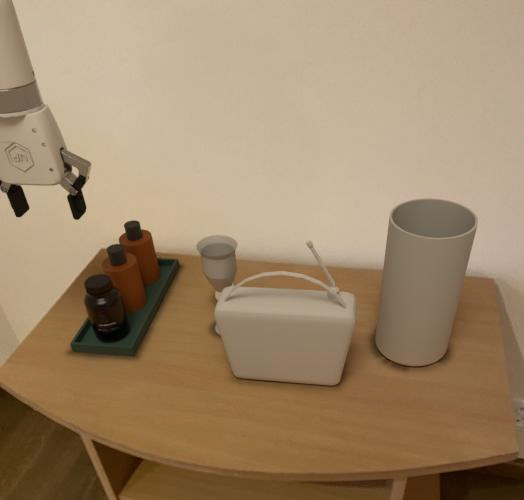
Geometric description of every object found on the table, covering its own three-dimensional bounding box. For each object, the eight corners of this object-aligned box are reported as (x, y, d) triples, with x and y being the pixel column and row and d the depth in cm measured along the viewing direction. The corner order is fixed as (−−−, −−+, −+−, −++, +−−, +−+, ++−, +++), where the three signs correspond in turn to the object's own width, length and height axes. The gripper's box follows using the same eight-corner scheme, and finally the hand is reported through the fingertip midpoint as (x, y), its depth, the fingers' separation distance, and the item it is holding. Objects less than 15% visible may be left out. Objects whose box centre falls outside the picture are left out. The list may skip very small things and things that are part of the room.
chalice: (202, 329, 98) (187, 247, 86) (226, 311, 102) (215, 231, 90) (229, 343, 95) (218, 260, 83) (253, 325, 98) (246, 243, 86)
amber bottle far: (123, 281, 112) (107, 227, 103) (144, 266, 116) (131, 213, 107) (146, 289, 109) (132, 235, 100) (167, 273, 113) (155, 220, 104)
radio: (352, 356, 90) (362, 229, 73) (350, 390, 84) (360, 260, 67) (232, 347, 94) (215, 225, 77) (222, 379, 88) (201, 254, 71)
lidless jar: (223, 307, 103) (243, 297, 105) (221, 295, 101) (242, 286, 103) (210, 295, 106) (231, 287, 108) (209, 284, 104) (229, 275, 106)
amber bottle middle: (107, 307, 105) (89, 252, 96) (130, 290, 109) (115, 236, 100) (131, 316, 102) (114, 261, 93) (154, 299, 106) (140, 244, 97)
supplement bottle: (109, 348, 95) (90, 296, 87) (88, 334, 98) (69, 282, 90) (138, 330, 98) (123, 278, 90) (118, 316, 102) (101, 265, 94)
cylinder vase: (382, 317, 98) (397, 194, 81) (449, 329, 94) (480, 203, 77) (368, 360, 89) (382, 232, 72) (442, 375, 85) (474, 244, 69)
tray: (134, 356, 94) (131, 347, 92) (73, 352, 96) (69, 343, 94) (179, 266, 116) (178, 258, 114) (129, 264, 118) (127, 257, 116)
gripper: (-63, 106, 67) (-12, 223, 79) (59, 107, 65) (93, 228, 76) (-30, 89, 73) (13, 202, 84) (83, 90, 70) (112, 205, 82)
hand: (51, 214), depth 80 cm, fingers open, 9 cm apart
